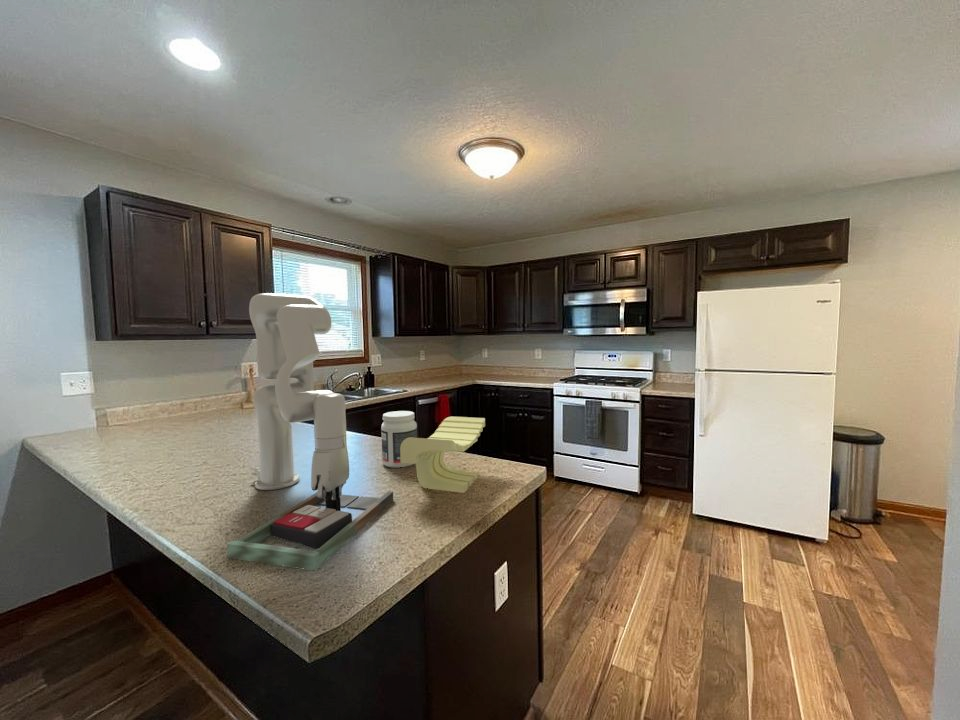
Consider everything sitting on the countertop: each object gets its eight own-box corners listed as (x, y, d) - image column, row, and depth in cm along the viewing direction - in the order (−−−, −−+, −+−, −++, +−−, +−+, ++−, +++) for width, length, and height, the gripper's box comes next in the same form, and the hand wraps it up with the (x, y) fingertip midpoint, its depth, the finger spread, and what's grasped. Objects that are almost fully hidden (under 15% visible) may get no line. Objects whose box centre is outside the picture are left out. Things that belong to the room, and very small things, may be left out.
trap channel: (227, 557, 81) (227, 543, 81) (327, 494, 114) (327, 484, 114) (314, 570, 76) (314, 556, 76) (393, 500, 109) (393, 490, 109)
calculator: (308, 502, 100) (352, 510, 94) (309, 519, 100) (353, 527, 94) (269, 521, 90) (315, 530, 84) (270, 539, 90) (317, 550, 84)
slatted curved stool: (443, 464, 139) (442, 415, 138) (485, 469, 134) (485, 418, 133) (401, 498, 110) (399, 436, 109) (453, 504, 106) (452, 440, 105)
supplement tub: (423, 459, 146) (422, 410, 145) (409, 470, 134) (408, 417, 133) (391, 457, 149) (390, 409, 148) (375, 468, 137) (374, 416, 136)
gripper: (335, 434, 106) (337, 500, 107) (297, 450, 92) (300, 525, 93) (359, 435, 104) (362, 502, 105) (325, 451, 90) (328, 528, 91)
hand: (333, 512), depth 99 cm, fingers closed
